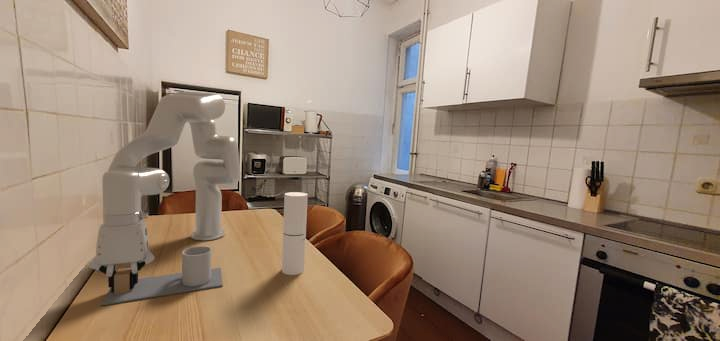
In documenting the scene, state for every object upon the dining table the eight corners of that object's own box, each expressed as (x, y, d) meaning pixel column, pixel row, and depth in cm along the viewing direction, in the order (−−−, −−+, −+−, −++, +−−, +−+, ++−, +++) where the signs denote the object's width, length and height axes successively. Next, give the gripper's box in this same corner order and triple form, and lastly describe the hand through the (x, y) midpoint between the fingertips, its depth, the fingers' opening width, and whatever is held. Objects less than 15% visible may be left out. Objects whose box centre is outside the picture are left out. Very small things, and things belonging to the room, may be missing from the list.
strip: (115, 283, 79) (115, 264, 79) (220, 268, 91) (220, 252, 91) (101, 305, 69) (101, 283, 68) (222, 286, 81) (223, 267, 80)
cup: (189, 290, 77) (189, 257, 76) (173, 278, 83) (173, 248, 82) (215, 280, 83) (216, 250, 82) (199, 270, 89) (199, 242, 88)
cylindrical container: (277, 269, 94) (280, 193, 91) (295, 263, 99) (298, 191, 97) (289, 277, 89) (293, 197, 87) (308, 270, 94) (312, 194, 92)
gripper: (163, 213, 81) (163, 276, 82) (85, 217, 73) (87, 287, 75) (159, 220, 74) (159, 288, 76) (73, 225, 66) (75, 301, 68)
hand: (123, 287), depth 75 cm, fingers closed on strip, 3 cm apart
